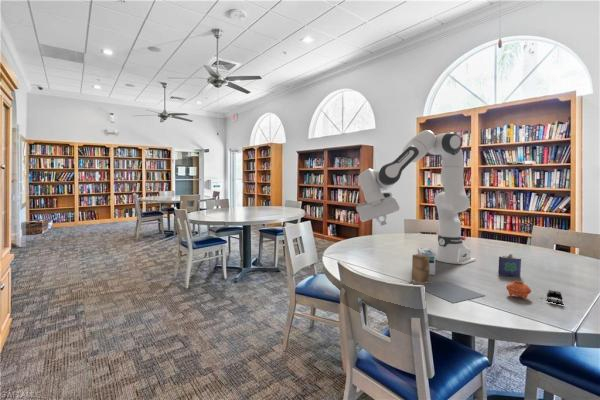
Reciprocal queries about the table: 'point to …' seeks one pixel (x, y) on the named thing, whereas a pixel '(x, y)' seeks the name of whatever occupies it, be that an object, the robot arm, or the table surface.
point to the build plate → (555, 295)
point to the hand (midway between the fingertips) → (383, 224)
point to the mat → (451, 292)
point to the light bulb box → (431, 259)
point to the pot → (518, 289)
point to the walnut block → (420, 268)
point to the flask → (509, 266)
